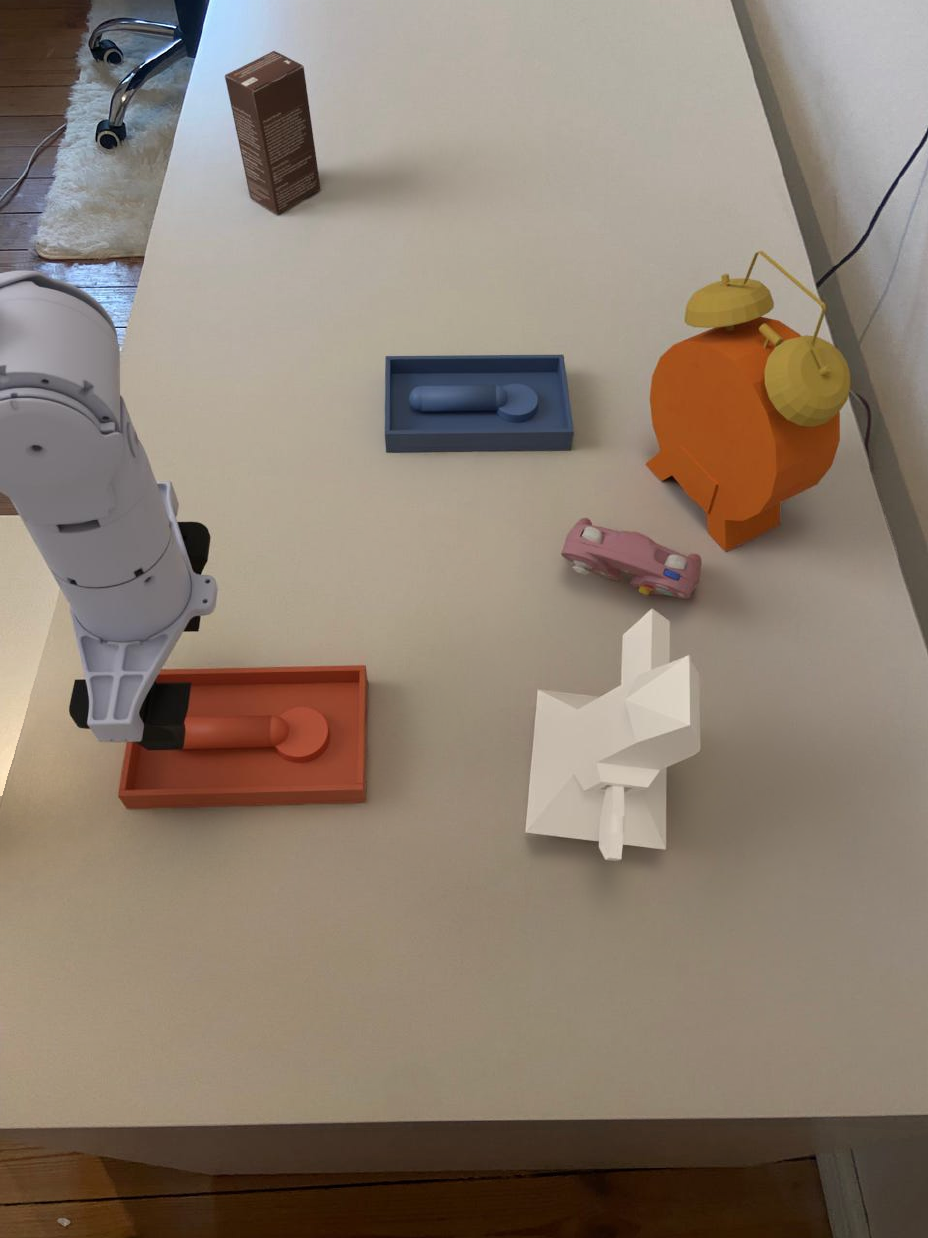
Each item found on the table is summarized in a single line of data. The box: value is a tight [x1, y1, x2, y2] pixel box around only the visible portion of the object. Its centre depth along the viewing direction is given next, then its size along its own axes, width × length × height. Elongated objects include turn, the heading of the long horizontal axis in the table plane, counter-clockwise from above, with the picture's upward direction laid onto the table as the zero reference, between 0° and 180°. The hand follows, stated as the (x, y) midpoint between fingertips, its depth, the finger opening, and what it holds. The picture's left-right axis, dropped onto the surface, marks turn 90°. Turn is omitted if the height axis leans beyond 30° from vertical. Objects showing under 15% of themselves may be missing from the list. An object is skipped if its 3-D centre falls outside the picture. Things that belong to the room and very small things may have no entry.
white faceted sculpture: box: [525, 608, 701, 862], centre depth 56 cm, size 8×14×14 cm, turn 173°
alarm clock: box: [645, 250, 851, 553], centre depth 67 cm, size 13×6×20 cm, turn 31°
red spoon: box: [182, 707, 330, 762], centre depth 61 cm, size 10×4×2 cm, turn 92°
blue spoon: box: [409, 384, 538, 422], centre depth 78 cm, size 10×4×2 cm, turn 92°
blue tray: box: [384, 354, 575, 453], centre depth 78 cm, size 15×9×2 cm, turn 92°
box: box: [224, 50, 321, 215], centre depth 90 cm, size 6×4×12 cm
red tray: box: [117, 664, 369, 810], centre depth 62 cm, size 15×9×2 cm, turn 92°
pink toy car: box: [560, 517, 703, 599], centre depth 68 cm, size 10×5×7 cm, turn 68°
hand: (174, 683), depth 55 cm, fingers open, 7 cm apart
